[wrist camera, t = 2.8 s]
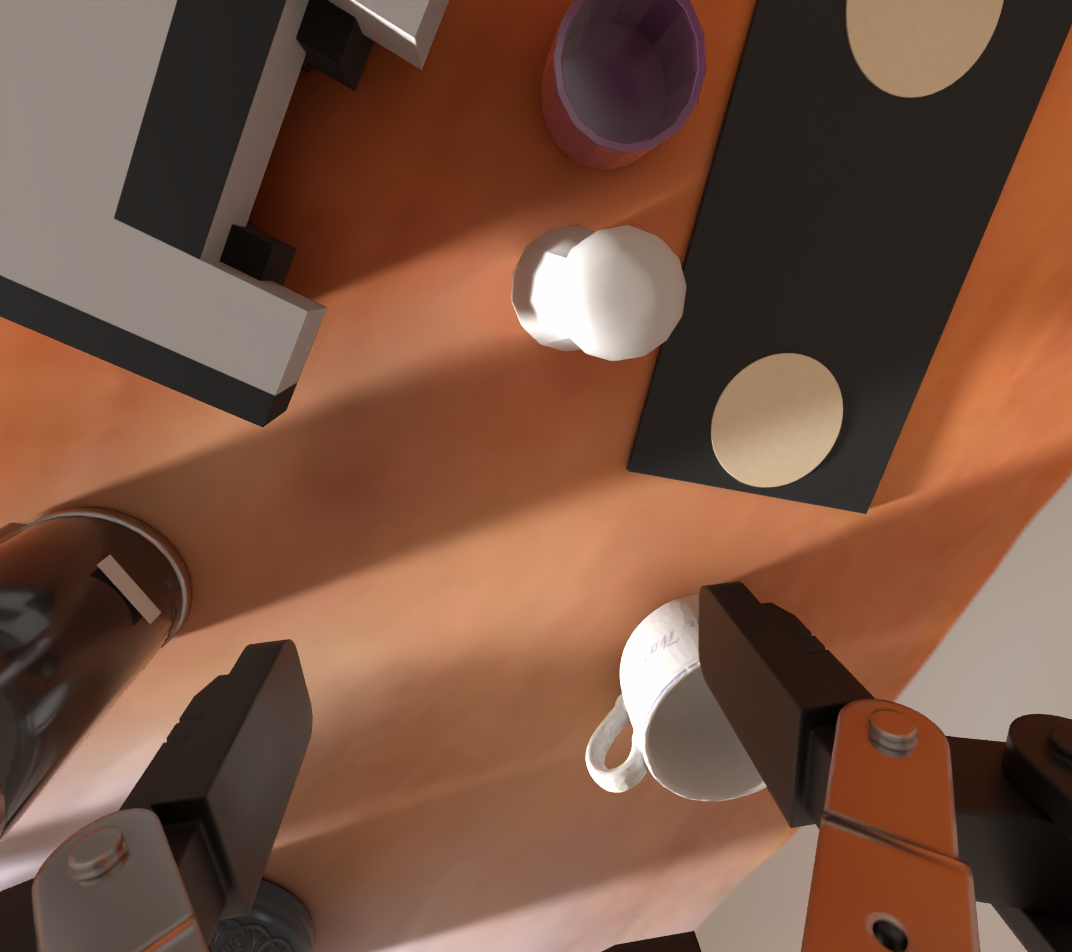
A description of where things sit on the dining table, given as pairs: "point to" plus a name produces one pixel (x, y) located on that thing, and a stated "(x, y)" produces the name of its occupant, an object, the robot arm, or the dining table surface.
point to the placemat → (839, 236)
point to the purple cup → (621, 78)
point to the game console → (169, 178)
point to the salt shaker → (599, 291)
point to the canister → (267, 925)
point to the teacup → (671, 716)
